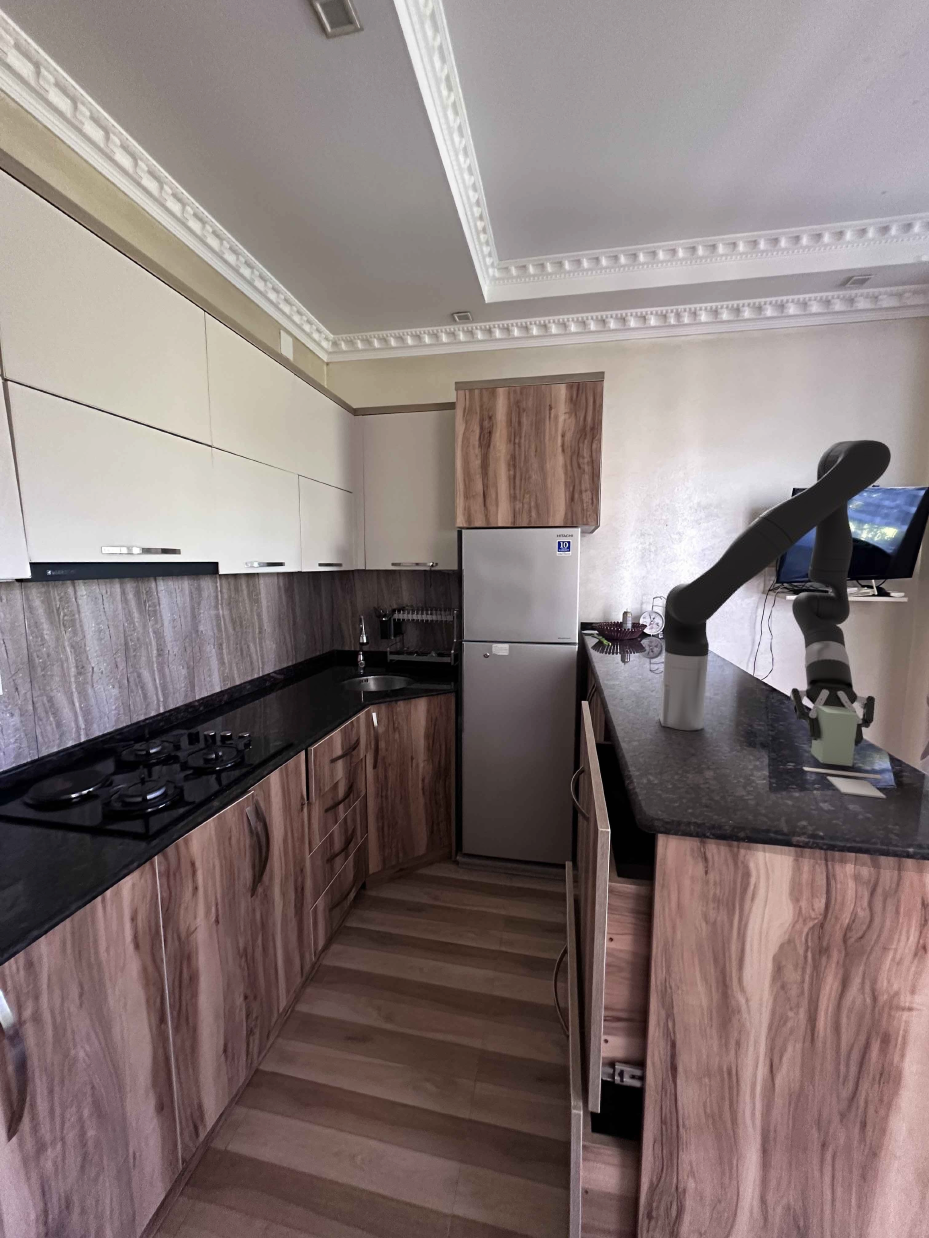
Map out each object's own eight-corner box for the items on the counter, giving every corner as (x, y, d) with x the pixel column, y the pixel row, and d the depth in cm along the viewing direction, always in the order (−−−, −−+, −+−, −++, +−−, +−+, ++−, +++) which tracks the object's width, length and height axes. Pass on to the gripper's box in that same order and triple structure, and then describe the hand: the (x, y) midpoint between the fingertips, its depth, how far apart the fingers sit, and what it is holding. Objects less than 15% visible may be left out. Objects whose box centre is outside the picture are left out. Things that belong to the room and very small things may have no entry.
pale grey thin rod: (805, 770, 90) (805, 769, 90) (802, 768, 91) (802, 767, 91) (882, 779, 87) (882, 778, 87) (879, 776, 88) (879, 775, 88)
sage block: (821, 762, 94) (826, 712, 92) (811, 753, 98) (815, 704, 97) (852, 766, 92) (857, 714, 91) (840, 755, 97) (845, 707, 96)
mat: (842, 793, 81) (842, 791, 81) (826, 777, 87) (826, 776, 87) (885, 798, 80) (885, 796, 80) (866, 782, 85) (866, 780, 85)
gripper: (789, 654, 103) (794, 726, 94) (876, 661, 97) (890, 738, 87) (783, 674, 108) (787, 743, 99) (864, 681, 102) (877, 756, 93)
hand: (835, 741), depth 93 cm, fingers closed on sage block, 5 cm apart
